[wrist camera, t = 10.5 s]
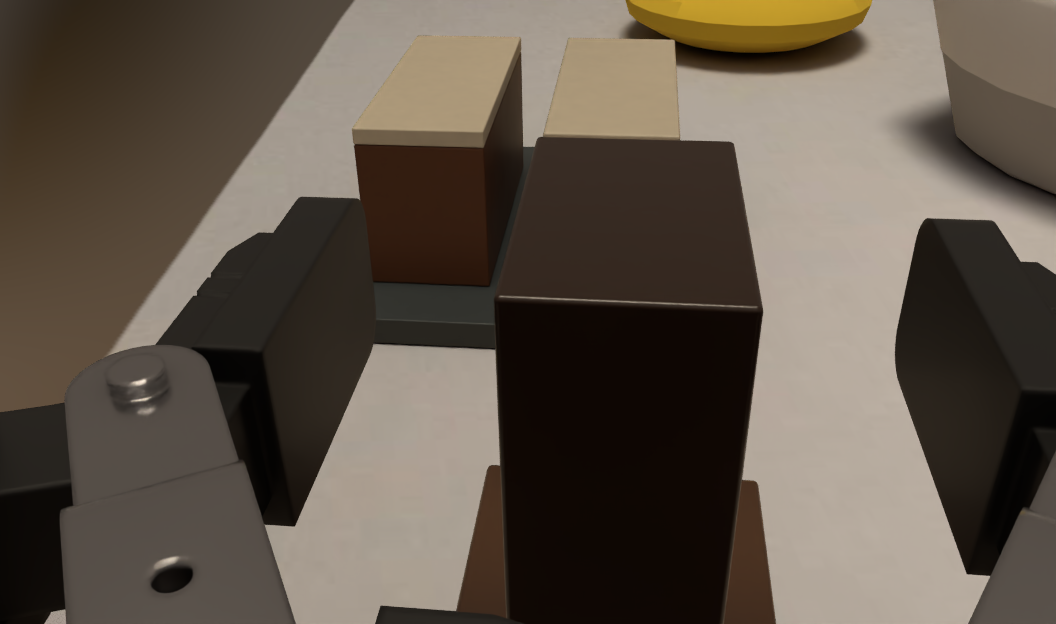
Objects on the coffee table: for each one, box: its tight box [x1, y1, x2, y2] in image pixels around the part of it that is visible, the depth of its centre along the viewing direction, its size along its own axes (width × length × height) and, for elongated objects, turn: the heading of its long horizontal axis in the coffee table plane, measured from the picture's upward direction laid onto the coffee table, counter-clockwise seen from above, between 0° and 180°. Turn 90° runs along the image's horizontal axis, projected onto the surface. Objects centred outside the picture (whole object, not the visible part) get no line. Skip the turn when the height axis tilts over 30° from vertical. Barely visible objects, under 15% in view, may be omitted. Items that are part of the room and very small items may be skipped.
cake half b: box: [352, 36, 523, 286], centre depth 40 cm, size 11×4×6 cm, turn 174°
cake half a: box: [543, 38, 680, 140], centre depth 39 cm, size 11×4×6 cm, turn 174°
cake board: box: [373, 147, 535, 348], centre depth 41 cm, size 16×15×1 cm
